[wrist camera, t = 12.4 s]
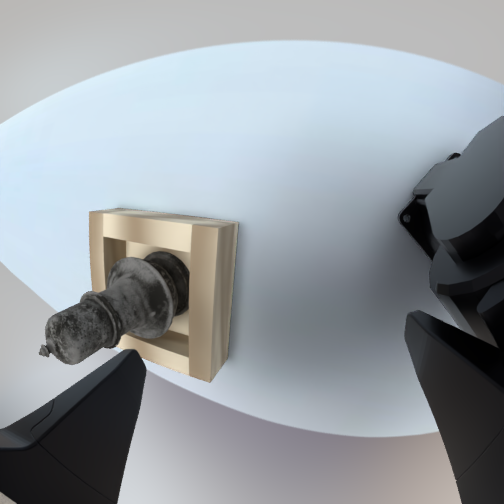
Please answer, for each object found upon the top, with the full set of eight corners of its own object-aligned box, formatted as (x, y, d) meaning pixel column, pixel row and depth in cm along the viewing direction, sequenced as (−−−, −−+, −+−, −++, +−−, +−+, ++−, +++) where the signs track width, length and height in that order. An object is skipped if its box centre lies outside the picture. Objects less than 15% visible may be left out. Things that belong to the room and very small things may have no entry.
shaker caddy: (238, 222, 19) (218, 228, 16) (227, 358, 22) (210, 382, 18) (118, 208, 22) (89, 211, 19) (122, 323, 25) (98, 338, 21)
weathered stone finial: (125, 281, 22) (9, 335, 11) (158, 231, 20) (16, 269, 9) (172, 332, 22) (68, 418, 11) (213, 287, 20) (90, 380, 9)
